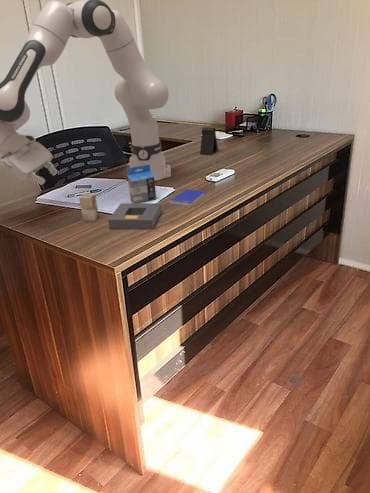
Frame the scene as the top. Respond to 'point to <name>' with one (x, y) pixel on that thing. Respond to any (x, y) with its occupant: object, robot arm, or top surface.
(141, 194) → the label tape box
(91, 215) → the birch peg
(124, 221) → the block
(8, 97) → the robot arm
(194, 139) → the top surface
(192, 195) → the hard drive
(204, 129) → the phone stand
